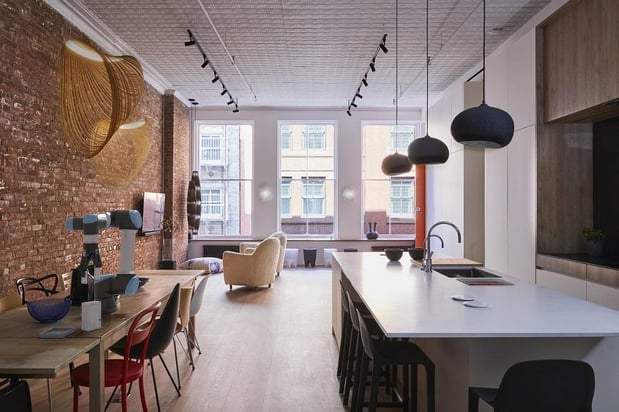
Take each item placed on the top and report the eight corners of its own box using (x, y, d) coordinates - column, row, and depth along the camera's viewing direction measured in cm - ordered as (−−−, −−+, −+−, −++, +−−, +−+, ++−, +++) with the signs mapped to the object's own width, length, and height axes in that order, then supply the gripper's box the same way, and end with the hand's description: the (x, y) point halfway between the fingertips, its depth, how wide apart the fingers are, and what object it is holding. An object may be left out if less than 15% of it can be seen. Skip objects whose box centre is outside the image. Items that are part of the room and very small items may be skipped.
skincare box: (88, 331, 253) (87, 303, 253) (80, 330, 256) (80, 302, 256) (101, 328, 261) (101, 301, 261) (94, 326, 264) (94, 299, 264)
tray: (53, 331, 255) (53, 327, 255) (76, 331, 254) (76, 327, 254) (39, 337, 242) (39, 333, 242) (63, 337, 242) (63, 333, 242)
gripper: (95, 240, 271) (95, 277, 271) (71, 244, 246) (71, 285, 246) (108, 240, 271) (108, 277, 271) (85, 244, 246) (85, 285, 246)
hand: (91, 281), depth 258 cm, fingers open, 13 cm apart
